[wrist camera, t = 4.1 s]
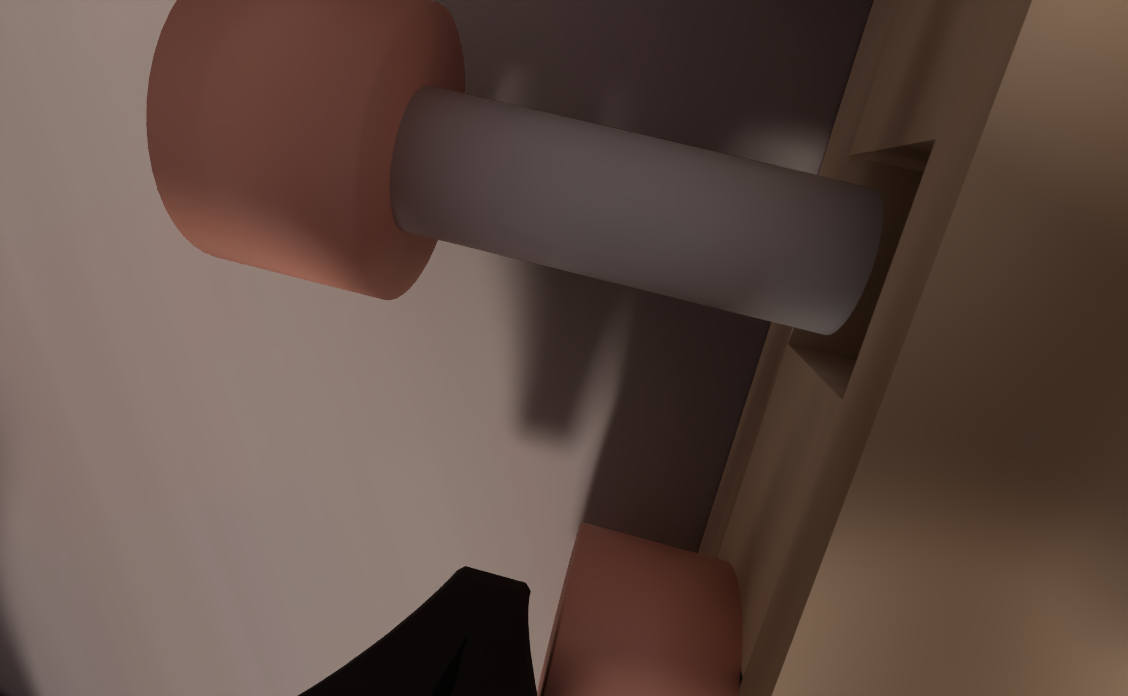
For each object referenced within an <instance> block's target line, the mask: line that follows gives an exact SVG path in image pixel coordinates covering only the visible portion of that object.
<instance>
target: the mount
mask: <svg viewBox="0 0 1128 696" xmlns="http://www.w3.org/2000/svg"><path fill="white" fill-rule="evenodd" d="M818 175H819V176H823V177H828V178H832V179H836V180H841V181H845V182H849V183H854V184H858V185H862V186H866V187H871V188H875V189H876V190H878V192H879V193H880V195H881V198H882V203H883V225H882V232H881V238H880V243H879V247H878V252H877V255H876V259H875V262H874V265H873V268H872V271H871V274H870V277H869V279H868V282H867V284H866V287H865V289H864V291H863V293H862V295H861V297H860V299H859V301H858V303H857V305H856V307H855V309H854V310H853V312H852V313H851V315H850V316H849V318H848V319H847V320H846V322H845V323H844V324H843V325H842V326H841V327H840V328H839V329H838V330H837V331H836V332H834V333H833V334H830V335H823V334H819V333H815V332H811V331H807V330H803V329H799V328H795V327H791V326H787V325H783V324H779V323H775V322H771V324H770V327H769V331H768V334H767V337H766V340H765V343H764V346H763V349H762V353H761V356H760V359H759V362H758V365H757V368H756V371H755V375H754V378H753V381H752V384H751V387H750V390H749V394H748V397H747V400H746V403H745V406H744V409H743V412H742V416H741V419H740V422H739V425H738V428H737V431H736V434H735V438H734V441H733V444H732V447H731V450H730V453H729V456H728V460H727V463H726V466H725V469H724V472H723V475H722V478H721V482H720V485H719V488H718V491H717V494H716V497H715V500H714V504H713V507H712V510H711V513H710V516H709V519H708V522H707V526H706V529H705V532H704V535H703V538H702V541H701V544H700V548H699V551H698V553H699V554H702V555H706V556H710V557H714V558H717V559H721V560H725V561H727V562H729V563H730V564H731V565H732V567H733V569H734V571H735V573H736V576H737V580H738V584H739V589H740V596H741V605H742V661H741V671H742V676H743V679H742V682H741V685H740V688H739V693H738V696H1128V0H874V1H873V4H872V7H871V10H870V13H869V16H868V19H867V23H866V26H865V29H864V32H863V35H862V38H861V41H860V45H859V48H858V51H857V54H856V57H855V60H854V63H853V67H852V70H851V73H850V76H849V79H848V82H847V85H846V89H845V92H844V95H843V98H842V101H841V104H840V107H839V111H838V114H837V117H836V120H835V123H834V126H833V129H832V133H831V136H830V139H829V142H828V145H827V148H826V151H825V155H824V158H823V161H822V164H821V167H820V170H819V173H818Z"/></svg>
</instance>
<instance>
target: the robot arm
mask: <svg viewBox="0 0 1128 696" xmlns="http://www.w3.org/2000/svg"><path fill="white" fill-rule="evenodd" d="M530 592H531V591H530V589H529V587H528V586H527V584H526V583H524V582H521V581H517V580H514V579H510V578H506V577H503V576H499V575H495V574H492V573H488V572H485V571H481V570H477V569H474V568H470V567H466V566H465V567H463V568H461V569H459V570H457V571H456V572H455V573H454V574H453V576H452V577H451V578H450V579H449V580H448V581H447V582H446V583H445V584H444V585H443V586H442V587H441V588H440V589H439V590H438V591H436V592H435V593H434V594H433V595H432V596H431V597H430V598H429V599H428V600H427V601H426V602H425V603H423V604H422V605H421V606H420V607H419V608H418V609H417V610H416V611H414V612H413V613H412V614H411V615H409V616H408V617H407V618H406V619H405V620H403V621H402V622H401V623H400V624H399V625H397V626H396V627H395V628H394V629H393V630H391V631H390V632H389V633H388V634H387V635H385V636H384V637H383V638H381V639H380V640H379V641H377V642H376V643H375V644H373V645H372V646H371V647H369V648H368V649H367V650H365V651H364V652H362V653H361V654H360V655H358V656H357V657H356V658H354V659H353V660H351V661H350V662H349V663H347V664H346V665H345V666H343V667H342V668H340V669H339V670H337V671H336V672H334V673H333V674H331V675H330V676H328V677H327V678H325V679H324V680H322V681H321V682H319V683H318V684H316V685H314V686H313V687H311V688H310V689H308V690H306V691H305V692H303V693H301V694H300V695H298V696H537V690H536V685H535V679H534V672H533V665H532V658H531V651H530V641H529V626H528V605H529V596H530Z"/></svg>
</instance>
